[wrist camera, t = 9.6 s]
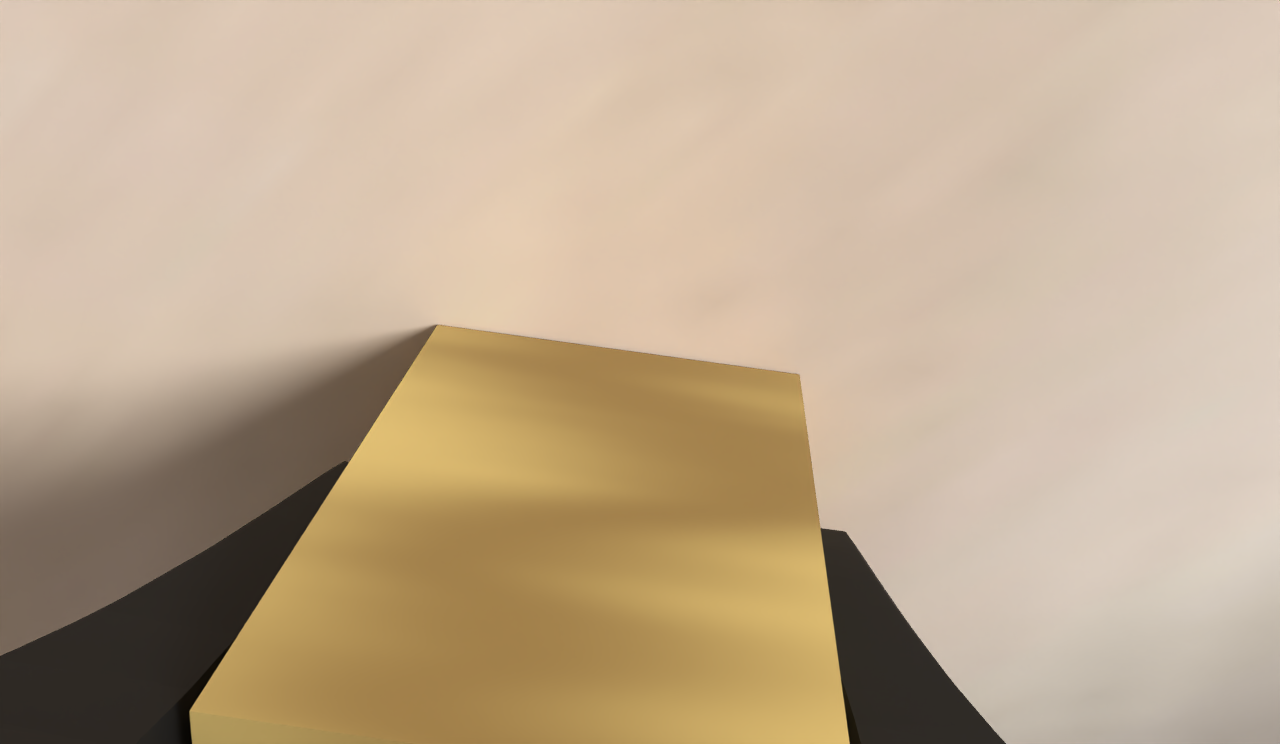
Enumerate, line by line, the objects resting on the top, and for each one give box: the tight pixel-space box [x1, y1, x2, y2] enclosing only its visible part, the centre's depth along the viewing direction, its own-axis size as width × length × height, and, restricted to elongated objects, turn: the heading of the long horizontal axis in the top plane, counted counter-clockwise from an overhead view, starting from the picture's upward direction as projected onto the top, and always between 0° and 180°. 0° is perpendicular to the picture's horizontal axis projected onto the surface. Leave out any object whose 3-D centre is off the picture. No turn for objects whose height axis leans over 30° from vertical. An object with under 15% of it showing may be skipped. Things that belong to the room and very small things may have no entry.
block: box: [189, 325, 850, 744], centre depth 10 cm, size 4×4×6 cm
